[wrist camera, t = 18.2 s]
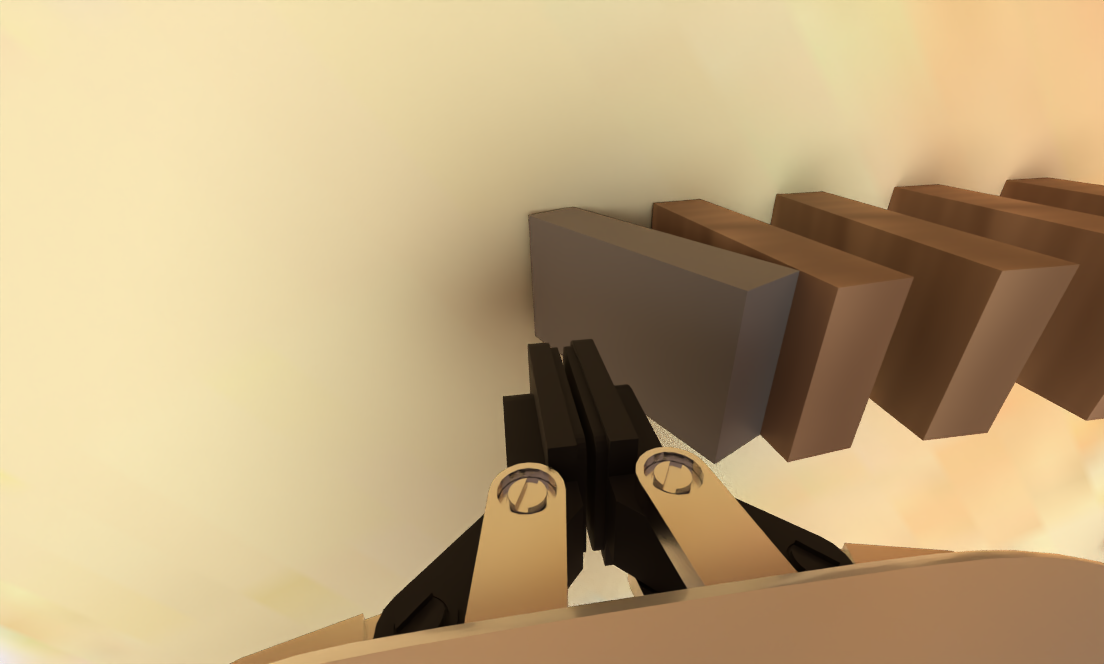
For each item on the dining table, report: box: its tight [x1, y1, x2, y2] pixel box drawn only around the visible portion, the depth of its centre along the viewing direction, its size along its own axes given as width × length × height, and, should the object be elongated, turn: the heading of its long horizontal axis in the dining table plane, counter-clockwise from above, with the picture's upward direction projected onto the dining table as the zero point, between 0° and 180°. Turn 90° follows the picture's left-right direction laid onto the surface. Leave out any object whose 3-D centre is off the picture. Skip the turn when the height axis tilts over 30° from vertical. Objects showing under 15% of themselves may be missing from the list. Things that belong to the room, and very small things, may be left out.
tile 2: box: [652, 199, 914, 462], centre depth 15 cm, size 2×5×9 cm, turn 2°
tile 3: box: [771, 192, 1080, 440], centre depth 15 cm, size 2×5×9 cm, turn 2°
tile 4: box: [888, 184, 1104, 421], centre depth 16 cm, size 2×5×9 cm, turn 2°
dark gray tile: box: [529, 207, 800, 464], centre depth 15 cm, size 2×5×9 cm, turn 2°
